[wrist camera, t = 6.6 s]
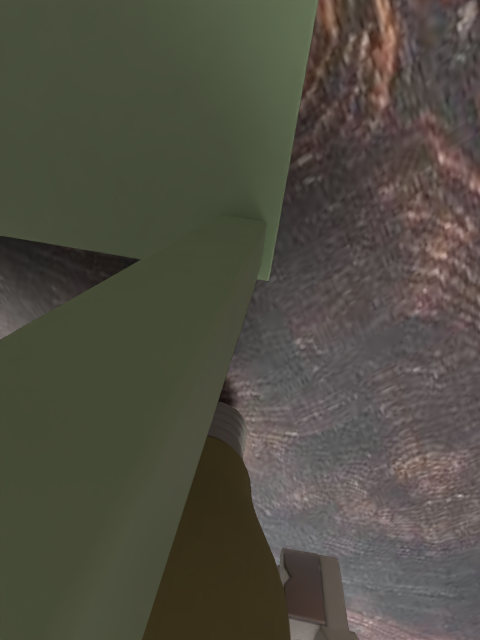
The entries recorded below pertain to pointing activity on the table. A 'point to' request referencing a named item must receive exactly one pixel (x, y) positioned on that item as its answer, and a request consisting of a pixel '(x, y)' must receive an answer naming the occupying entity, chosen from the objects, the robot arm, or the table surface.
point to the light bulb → (220, 553)
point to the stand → (130, 278)
